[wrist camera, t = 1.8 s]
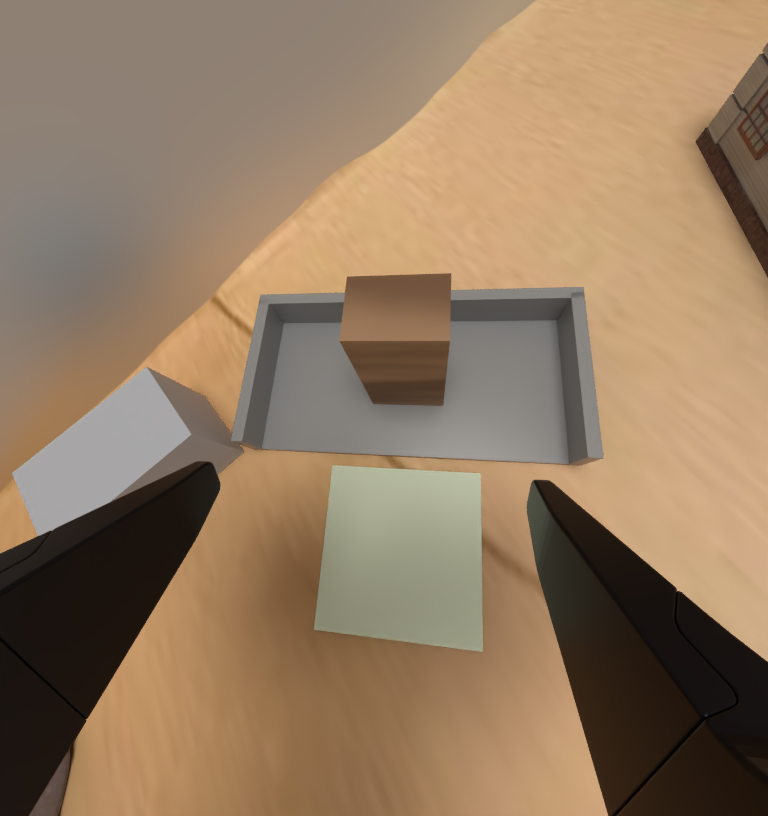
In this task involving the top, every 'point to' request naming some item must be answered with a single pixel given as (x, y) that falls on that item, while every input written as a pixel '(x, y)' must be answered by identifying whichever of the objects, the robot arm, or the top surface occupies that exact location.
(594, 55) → the top surface
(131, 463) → the greyblue box
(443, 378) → the walnut box
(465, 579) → the pad
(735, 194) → the model house
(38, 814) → the stone block
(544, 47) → the top surface
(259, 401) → the parts tray
